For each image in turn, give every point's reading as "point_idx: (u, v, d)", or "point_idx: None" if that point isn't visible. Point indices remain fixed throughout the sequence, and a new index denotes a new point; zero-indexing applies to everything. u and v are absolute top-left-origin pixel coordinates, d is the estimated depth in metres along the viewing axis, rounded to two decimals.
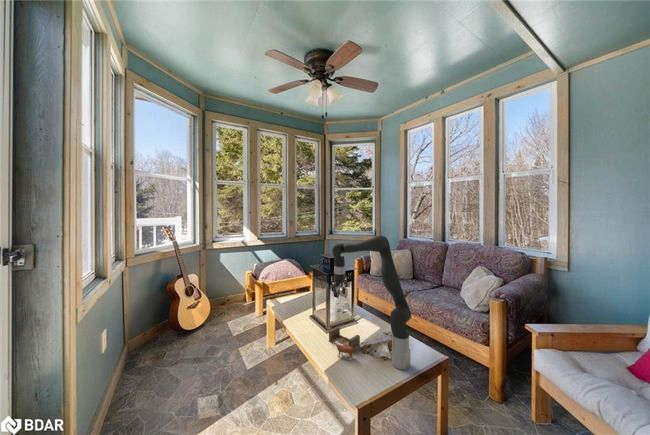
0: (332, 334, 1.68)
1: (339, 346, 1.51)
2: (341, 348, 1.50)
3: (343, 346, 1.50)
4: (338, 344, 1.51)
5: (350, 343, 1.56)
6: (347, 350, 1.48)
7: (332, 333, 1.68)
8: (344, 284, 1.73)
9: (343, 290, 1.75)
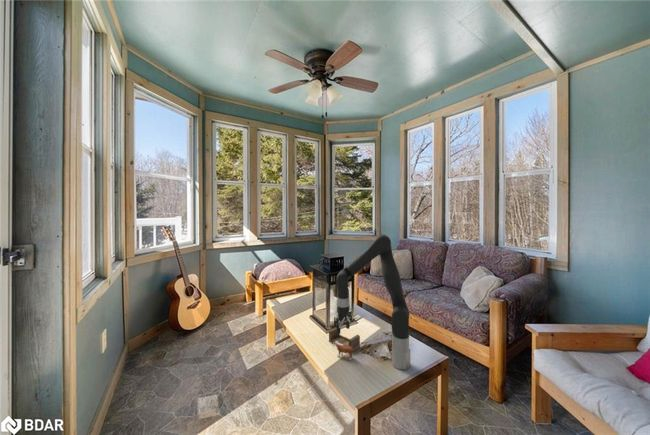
0: (332, 334, 1.68)
1: (339, 346, 1.51)
2: (341, 348, 1.50)
3: (343, 346, 1.50)
4: (338, 344, 1.51)
5: (350, 343, 1.56)
6: (347, 350, 1.48)
7: (332, 333, 1.68)
8: (348, 317, 1.51)
9: (347, 324, 1.53)
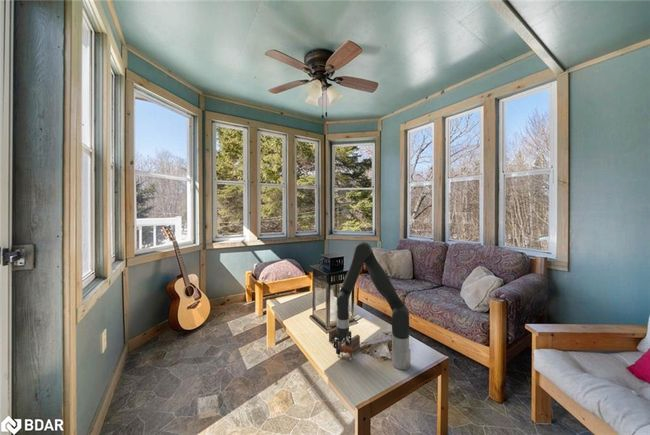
0: (332, 334, 1.68)
1: None
2: (341, 348, 1.50)
3: (343, 346, 1.50)
4: (338, 344, 1.51)
5: (350, 343, 1.56)
6: (347, 350, 1.48)
7: (332, 333, 1.68)
8: (348, 338, 1.52)
9: (346, 344, 1.54)
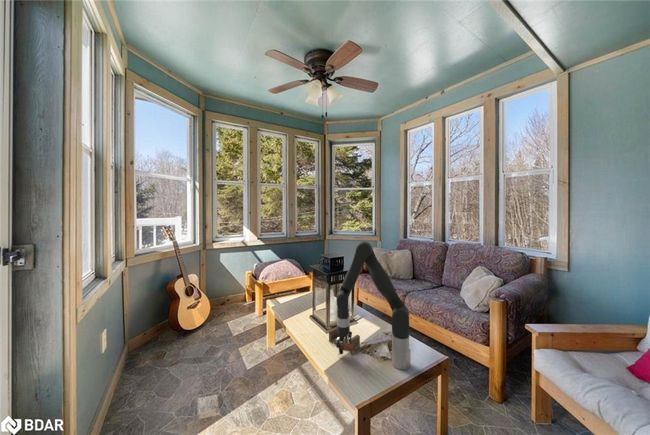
0: (332, 334, 1.68)
1: (340, 344, 1.50)
2: None
3: (344, 344, 1.50)
4: None
5: (350, 343, 1.56)
6: (348, 348, 1.48)
7: (332, 333, 1.68)
8: (348, 338, 1.51)
9: None
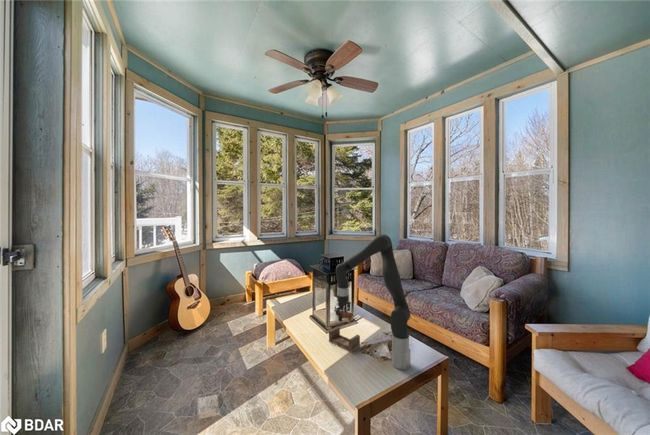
0: (332, 334, 1.68)
1: None
2: None
3: (343, 312, 1.60)
4: None
5: (350, 343, 1.56)
6: (347, 315, 1.58)
7: (332, 333, 1.68)
8: (347, 307, 1.62)
9: None
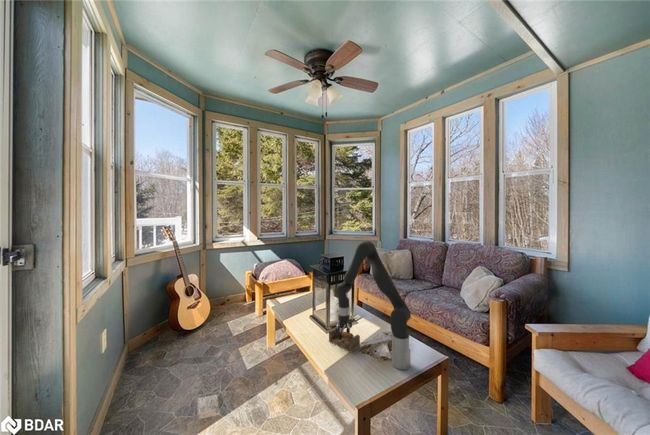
0: (332, 334, 1.68)
1: None
2: (342, 334, 1.63)
3: (344, 332, 1.64)
4: None
5: (350, 343, 1.56)
6: (347, 336, 1.61)
7: (332, 333, 1.68)
8: (348, 325, 1.66)
9: (347, 331, 1.68)
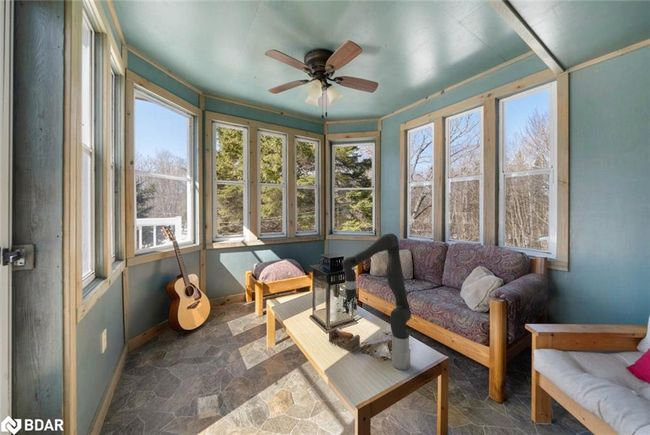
0: (332, 334, 1.68)
1: (340, 332, 1.64)
2: (342, 334, 1.63)
3: (344, 332, 1.64)
4: (339, 331, 1.65)
5: (350, 343, 1.56)
6: (347, 336, 1.61)
7: (332, 333, 1.68)
8: (355, 299, 1.66)
9: (354, 305, 1.68)
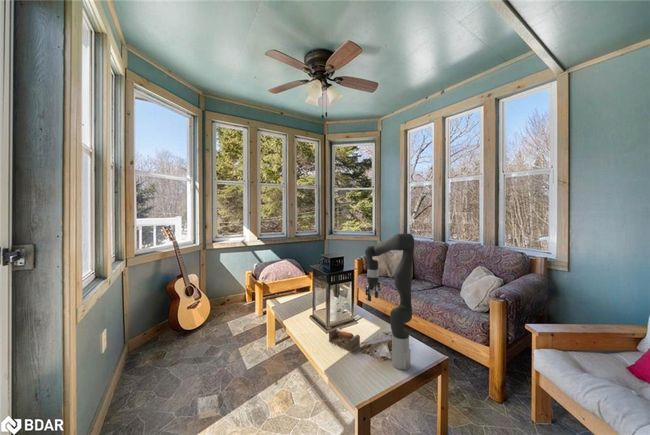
0: (332, 334, 1.68)
1: (340, 332, 1.64)
2: (342, 334, 1.63)
3: (344, 332, 1.64)
4: (339, 331, 1.65)
5: (350, 343, 1.56)
6: (347, 336, 1.61)
7: (332, 333, 1.68)
8: (377, 287, 1.69)
9: (376, 293, 1.71)
